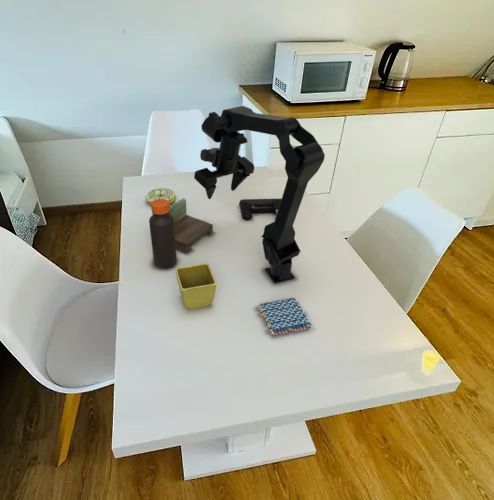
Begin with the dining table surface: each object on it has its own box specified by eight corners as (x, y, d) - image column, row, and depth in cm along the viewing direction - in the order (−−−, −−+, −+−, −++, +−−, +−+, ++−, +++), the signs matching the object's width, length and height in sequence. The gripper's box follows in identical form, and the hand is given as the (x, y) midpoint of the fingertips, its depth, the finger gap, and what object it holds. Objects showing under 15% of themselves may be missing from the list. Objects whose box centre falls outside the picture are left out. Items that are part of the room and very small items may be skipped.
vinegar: (149, 262, 115) (142, 202, 104) (167, 253, 119) (162, 194, 108) (163, 272, 112) (157, 212, 100) (181, 262, 115) (177, 203, 104)
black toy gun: (301, 219, 132) (291, 195, 145) (243, 221, 131) (238, 196, 143) (300, 227, 134) (290, 202, 147) (243, 229, 133) (238, 204, 146)
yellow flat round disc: (148, 195, 150) (147, 186, 148) (176, 195, 151) (175, 186, 148) (144, 208, 142) (143, 199, 140) (174, 208, 142) (173, 199, 140)
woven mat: (294, 300, 103) (295, 295, 101) (312, 329, 94) (313, 323, 93) (257, 307, 100) (257, 301, 99) (272, 338, 92) (273, 332, 91)
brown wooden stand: (212, 233, 129) (212, 208, 123) (187, 253, 119) (185, 227, 114) (184, 222, 134) (183, 198, 129) (157, 241, 125) (154, 215, 119)
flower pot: (182, 317, 97) (181, 289, 92) (176, 294, 104) (174, 267, 99) (216, 310, 99) (217, 283, 94) (208, 288, 106) (208, 262, 101)
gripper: (236, 130, 118) (228, 172, 129) (185, 143, 109) (181, 188, 120) (260, 149, 113) (249, 191, 124) (209, 164, 103) (202, 208, 115)
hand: (220, 194), depth 121 cm, fingers open, 9 cm apart
